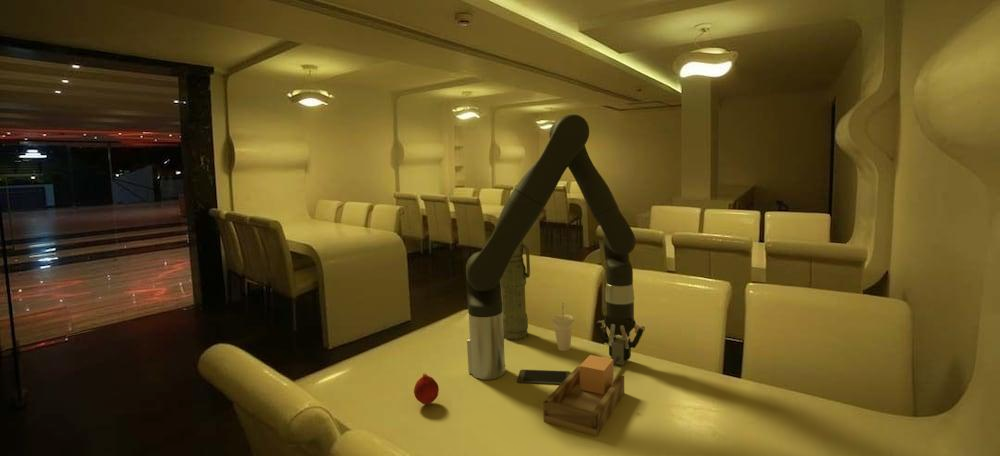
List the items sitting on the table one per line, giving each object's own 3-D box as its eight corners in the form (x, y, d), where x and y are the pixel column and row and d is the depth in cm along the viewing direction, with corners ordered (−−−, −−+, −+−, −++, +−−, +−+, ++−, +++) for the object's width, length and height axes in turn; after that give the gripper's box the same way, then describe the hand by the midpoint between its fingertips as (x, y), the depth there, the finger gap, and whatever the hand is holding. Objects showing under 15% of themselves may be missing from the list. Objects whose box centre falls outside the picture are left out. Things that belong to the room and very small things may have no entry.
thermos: (500, 329, 158) (495, 229, 153) (534, 331, 155) (530, 228, 150) (494, 339, 149) (489, 233, 144) (529, 341, 146) (526, 233, 142)
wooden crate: (596, 436, 94) (596, 416, 94) (543, 421, 100) (543, 402, 100) (624, 393, 111) (624, 375, 110) (577, 383, 117) (577, 366, 117)
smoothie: (573, 344, 142) (572, 300, 140) (575, 352, 136) (574, 307, 134) (553, 344, 143) (551, 300, 141) (553, 352, 137) (552, 307, 135)
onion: (443, 400, 112) (441, 369, 110) (432, 412, 106) (430, 380, 105) (422, 397, 113) (420, 366, 112) (410, 409, 108) (408, 377, 107)
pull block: (604, 399, 108) (604, 370, 107) (580, 394, 111) (579, 365, 110) (633, 359, 129) (633, 334, 128) (612, 355, 132) (611, 331, 131)
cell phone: (520, 371, 126) (520, 369, 126) (571, 373, 123) (571, 371, 123) (516, 384, 119) (516, 381, 119) (570, 386, 116) (570, 384, 116)
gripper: (590, 299, 126) (591, 359, 128) (642, 306, 119) (642, 369, 121) (599, 292, 132) (600, 349, 135) (649, 298, 125) (648, 358, 127)
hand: (620, 358), depth 128 cm, fingers closed on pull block, 3 cm apart
